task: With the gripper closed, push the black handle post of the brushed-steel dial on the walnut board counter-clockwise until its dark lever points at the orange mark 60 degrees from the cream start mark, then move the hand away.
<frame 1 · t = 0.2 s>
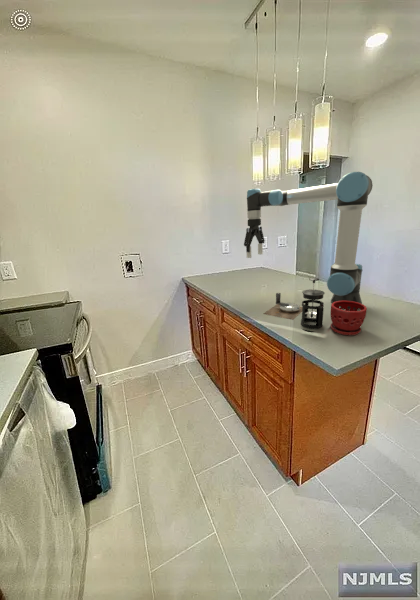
hand: (254, 256, 147), 28 cm above the worktop, fingers open, 13 cm apart
plant pot: (345, 331, 107), on the worktop
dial: (287, 301, 131), point 6 cm above the worktop, hinge at 0.0°
french press: (311, 328, 112), on the worktop
dial board: (284, 313, 131), on the worktop
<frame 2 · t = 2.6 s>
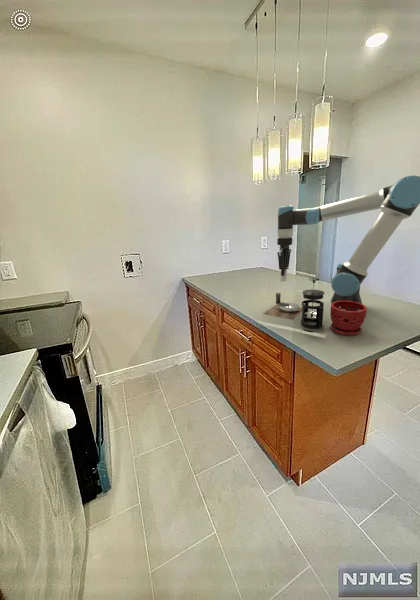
hand: (283, 280, 137), 15 cm above the worktop, fingers closed
nothing on the worktop moved.
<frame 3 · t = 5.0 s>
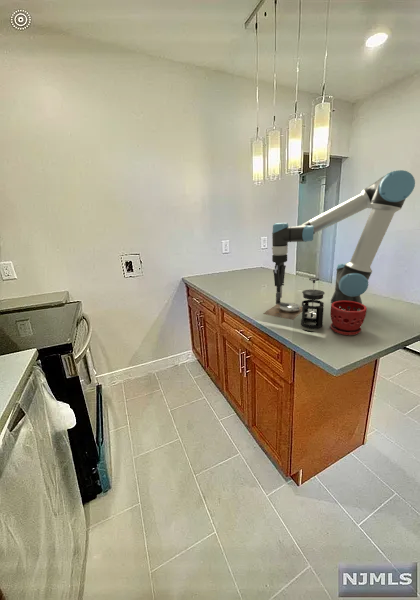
hand: (279, 297, 135), 7 cm above the worktop, fingers closed
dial: (287, 301, 131), point 6 cm above the worktop, hinge at 0.4°, touching gripper
everything else where it was.
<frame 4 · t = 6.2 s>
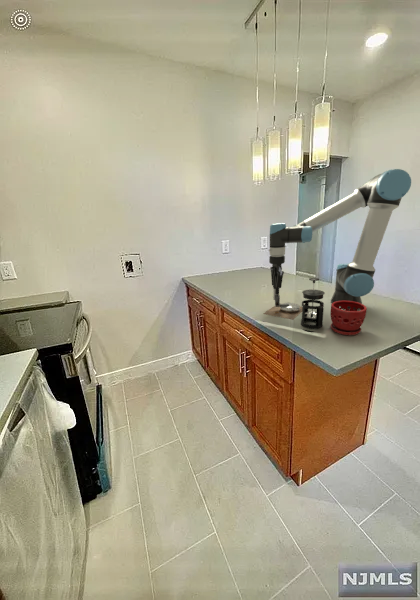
hand: (276, 299, 132), 7 cm above the worktop, fingers closed
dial: (287, 302, 130), point 6 cm above the worktop, hinge at 34.6°, touching gripper
everything else where it was.
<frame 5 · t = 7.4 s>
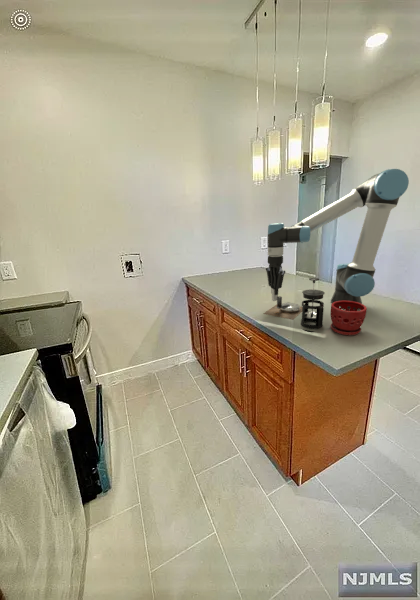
hand: (274, 300, 131), 7 cm above the worktop, fingers closed
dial: (287, 302, 130), point 6 cm above the worktop, hinge at 59.0°
everything else where it was.
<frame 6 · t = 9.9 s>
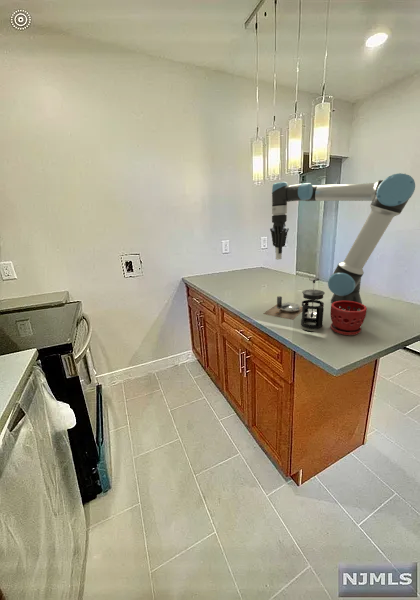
hand: (278, 259, 138), 26 cm above the worktop, fingers closed
nothing on the worktop moved.
at the end: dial at +59° (first picture: +0°); the gripper is holding nothing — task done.
